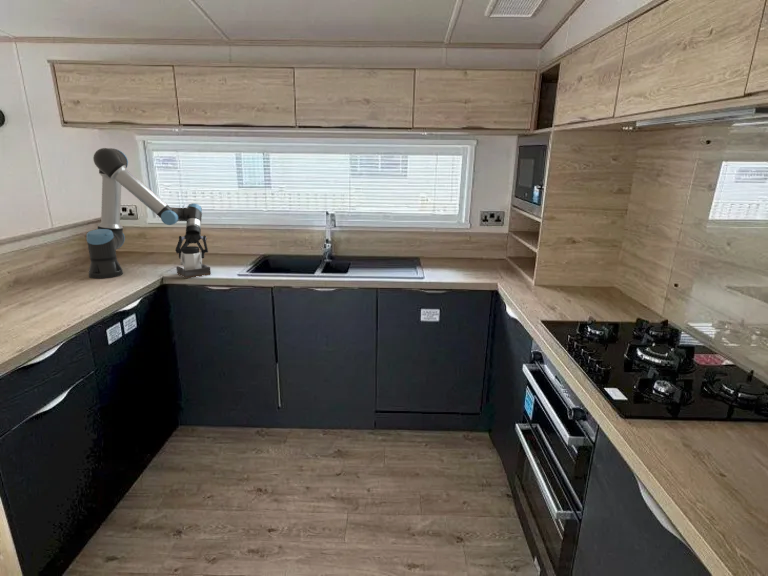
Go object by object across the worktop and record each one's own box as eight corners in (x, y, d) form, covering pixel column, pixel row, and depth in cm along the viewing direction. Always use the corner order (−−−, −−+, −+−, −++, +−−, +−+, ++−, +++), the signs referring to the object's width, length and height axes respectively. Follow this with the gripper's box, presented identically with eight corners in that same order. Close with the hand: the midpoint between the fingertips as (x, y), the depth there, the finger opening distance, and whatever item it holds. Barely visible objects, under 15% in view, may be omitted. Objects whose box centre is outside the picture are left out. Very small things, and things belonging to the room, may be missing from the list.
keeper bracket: (177, 273, 232) (176, 266, 231) (201, 270, 241) (200, 263, 240) (186, 278, 223) (185, 271, 222) (210, 274, 232) (210, 267, 231)
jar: (203, 270, 231) (201, 248, 227) (187, 272, 226) (184, 249, 222) (198, 266, 237) (196, 245, 234) (182, 268, 232) (180, 247, 229)
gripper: (215, 232, 243) (213, 266, 233) (174, 232, 239) (170, 267, 228) (212, 224, 237) (211, 258, 227) (170, 224, 232) (167, 260, 222)
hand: (191, 263), depth 227 cm, fingers closed on jar, 9 cm apart
